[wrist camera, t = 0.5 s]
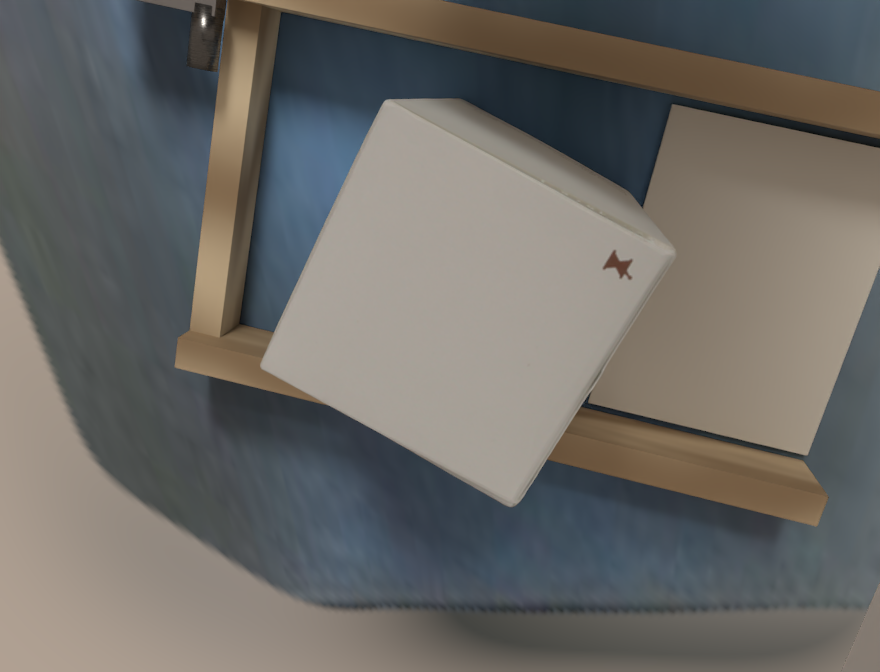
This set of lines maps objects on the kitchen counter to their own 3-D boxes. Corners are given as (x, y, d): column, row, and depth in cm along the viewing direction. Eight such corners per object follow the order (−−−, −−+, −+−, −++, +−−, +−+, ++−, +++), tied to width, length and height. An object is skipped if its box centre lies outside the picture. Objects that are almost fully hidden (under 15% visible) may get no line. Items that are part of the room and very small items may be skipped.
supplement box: (456, 91, 29) (386, 80, 17) (635, 192, 29) (693, 254, 17) (366, 266, 31) (247, 368, 19) (532, 359, 31) (519, 519, 19)
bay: (253, -31, 28) (220, -46, 26) (935, 112, 27) (981, 112, 24) (207, 344, 33) (174, 367, 30) (792, 487, 31) (816, 526, 28)
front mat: (672, 104, 28) (672, 104, 28) (918, 156, 27) (921, 156, 27) (588, 400, 31) (588, 402, 31) (805, 453, 31) (807, 455, 30)
